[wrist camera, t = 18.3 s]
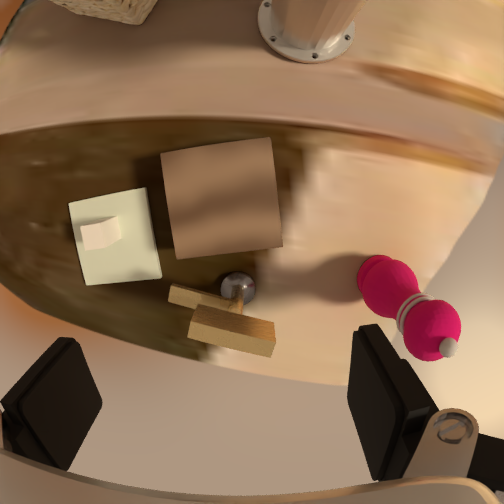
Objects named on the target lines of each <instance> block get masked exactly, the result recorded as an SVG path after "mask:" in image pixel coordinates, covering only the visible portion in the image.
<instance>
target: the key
mask: <svg viewBox="0 0 504 504" xmlns="http://www.w3.org/2000/svg"><path fill="white" fill-rule="evenodd" d="M243 299H244V288H243V287H242V286H241V285H235V286H233V288H232V291H231V296H230V298H227V297H223V296H219V295H215V294H211V293H208V292H204V291H200V290H196V289H193V288H189V287H186V286H182V285H178V284H175V283H172V285H171V288H170V293H169V299H168V302H171V303H175V304H178V305H182V306H186V307H189V308H193V309H196V310H195V312H194V315H193V317H192V320H191V323H190V328H189V332H188V338H191V339H195V340H199V341H203V342H206V343H210V344H214V345H218V346H222V347H226V348H230V349H234V350H239V351H243V352H247V353H252V354H256V355H260V356H265V357H271V355H272V352H273V349H274V346H275V344H276V338H275V329H274V322H270V321H265V320H261V319H257V318H253V317H249V316H245V315H242V311H243Z"/></svg>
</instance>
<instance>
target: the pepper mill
mask: <svg viewBox="0 0 504 504" xmlns="http://www.w3.org/2000/svg"><path fill="white" fill-rule="evenodd" d="M357 284H358V287H359V290H360V291H361V292H362V294H363V299H364V301H365V303H366V305H367V306H368V307H369V308H370V309H371V310H372V311H373V312H374V313H376V314H377V315H380V316H382V317H386V318H393V319H395V320H396V323H397V328H398V330H399V331H400V332H401V333H402V335H403V338H404V343H405V346H406V348H407V349H408V351H409V352H410V353H411V354H412V355H413V356H414V357H416V358H418V359H420V360H422V361H436V360H438V359H441V358H443V357H447V358H448V357H452V356H453V355H454V354H455V353H456V352H457V349H458V344H457V342H458V339H459V336H460V333H461V322H460V318H459V315H458V313H457V312H456V311H455V309H454V308H453V307H452V306H451V305H450V304H448V303H447V302H445V301H443V300H436V299H435V298H433V297H432V296H431V295H429V294H427V293H421V292H420V290H419V288H418V282H417V279H416V277H415V275H414V273H413V271H412V270H411V269H410V268H409V267H408V266H407V265H406V264H405V263H403V262H401V261H398V260H393V259H391V258H390V257H388V256H384V255H377V256H373V257H371V258H369V259H368V260H366V261H365V262H364V264H363V265H362V266H361V268H360V270H359V272H358V276H357Z"/></svg>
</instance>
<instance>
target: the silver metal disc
mask: <svg viewBox="0 0 504 504" xmlns="http://www.w3.org/2000/svg"><path fill="white" fill-rule="evenodd" d="M235 285H241V286H242V287H243V288H244V299H243V305H245V304H247V303H249V302H250V301H251V300H252V299H253V297H254V295H255V283H254V281H253V279H252V277H251V276H249V275H248V274H247V273H244V272H241V271H236V272H232V273H230V274H228V275H227V276H226V277H225V278H224V279H223V282H222V285H221V294H222V296H223V297H227V298H230V296H231V291H232V288H233V286H235Z"/></svg>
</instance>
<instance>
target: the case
mask: <svg viewBox="0 0 504 504" xmlns="http://www.w3.org/2000/svg"><path fill="white" fill-rule="evenodd" d="M160 155H161V163H162V171H163V178H164V185H165V192H166V198H167V205H168V211H169V217H170V224H171V229H172V235H173V241H174V247H175V252H176V258H177V259H184V258H192V257H201V256H209V255H218V254H227V253H235V252H244V251H252V250H261V249H270V248H278V247H283V242H282V232H281V223H280V213H279V204H278V195H277V186H276V178H275V169H274V161H273V153H272V145H271V137H267V138H258V139H250V140H242V141H234V142H227V143H220V144H213V145H206V146H200V147H194V148H188V149H182V150H177V151H171V152H166V153H161V154H160Z"/></svg>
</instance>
